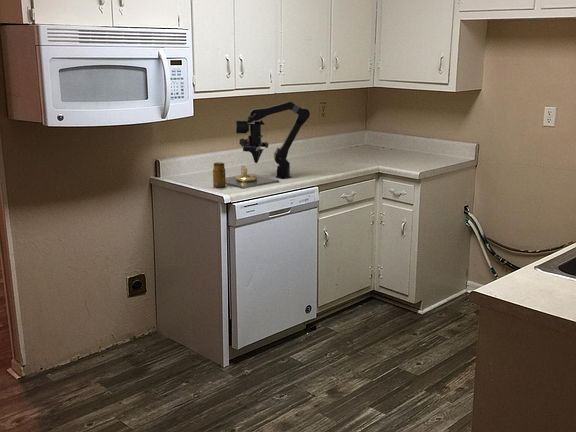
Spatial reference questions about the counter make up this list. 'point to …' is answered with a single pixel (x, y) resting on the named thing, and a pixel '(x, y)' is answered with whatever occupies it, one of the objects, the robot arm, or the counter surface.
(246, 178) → the brass lever handle
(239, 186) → the base plate
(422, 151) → the counter surface
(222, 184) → the condiment
